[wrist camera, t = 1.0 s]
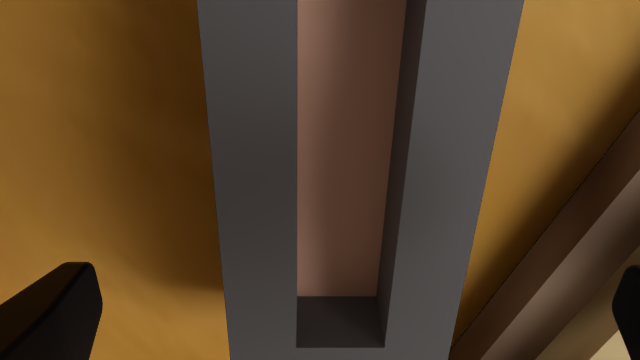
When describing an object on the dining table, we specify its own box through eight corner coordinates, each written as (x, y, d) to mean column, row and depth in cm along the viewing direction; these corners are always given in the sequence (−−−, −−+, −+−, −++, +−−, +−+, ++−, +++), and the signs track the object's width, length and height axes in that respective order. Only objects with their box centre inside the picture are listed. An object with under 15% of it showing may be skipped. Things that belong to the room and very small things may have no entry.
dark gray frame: (416, 295, 19) (441, 391, 15) (247, 295, 18) (233, 391, 15) (489, -182, 11) (568, -206, 8) (216, -190, 11) (176, -219, 8)
